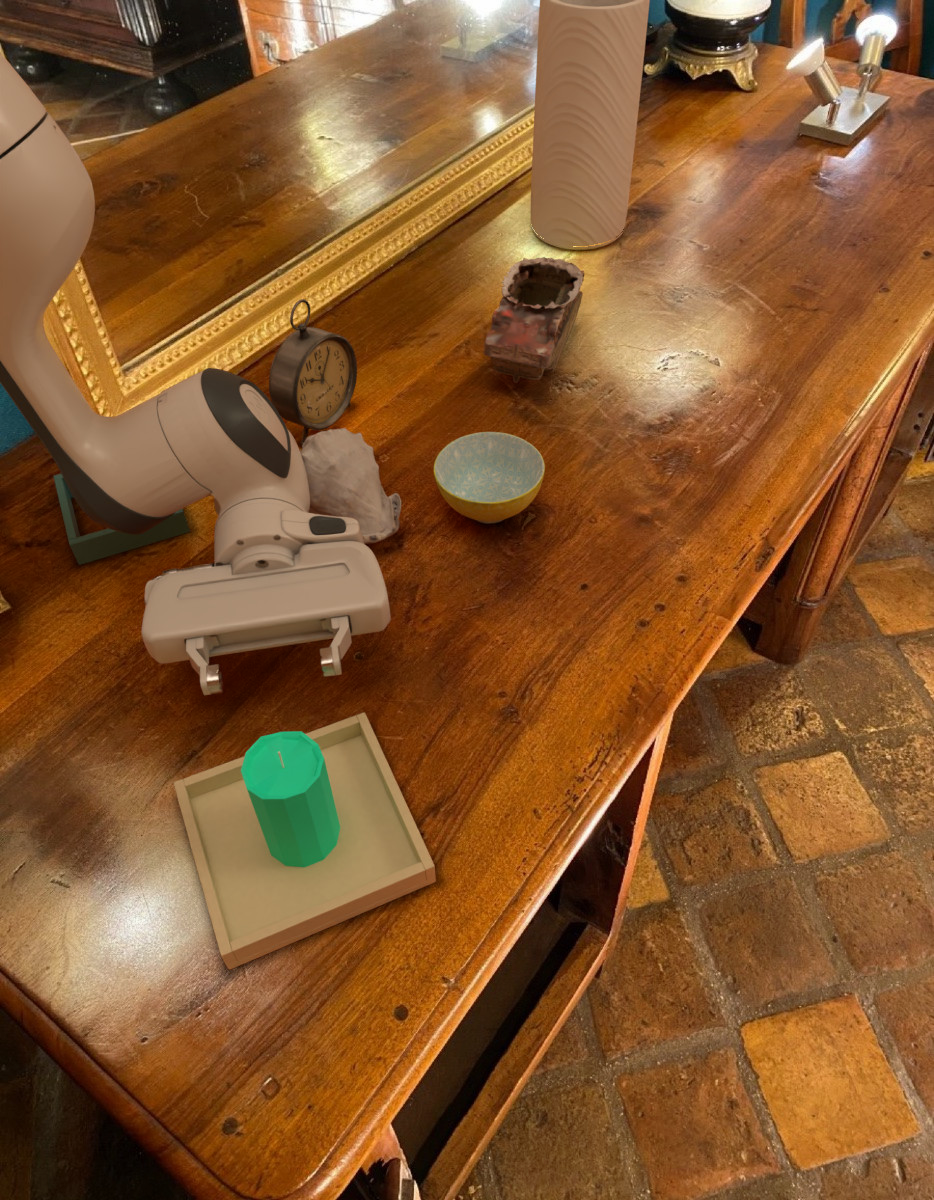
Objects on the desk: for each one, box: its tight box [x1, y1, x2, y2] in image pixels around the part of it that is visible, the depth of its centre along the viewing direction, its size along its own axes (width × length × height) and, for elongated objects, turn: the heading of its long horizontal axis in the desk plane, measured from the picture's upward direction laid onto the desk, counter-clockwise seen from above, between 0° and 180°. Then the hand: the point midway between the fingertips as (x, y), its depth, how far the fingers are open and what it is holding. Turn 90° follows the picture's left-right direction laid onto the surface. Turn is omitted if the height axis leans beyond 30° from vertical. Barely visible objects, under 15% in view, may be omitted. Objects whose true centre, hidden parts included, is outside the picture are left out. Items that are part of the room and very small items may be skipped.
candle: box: [241, 730, 340, 867], centre depth 72 cm, size 6×6×12 cm
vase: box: [530, 0, 651, 251], centre depth 131 cm, size 14×14×32 cm
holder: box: [53, 473, 191, 566], centre depth 101 cm, size 12×12×3 cm
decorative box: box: [482, 256, 585, 383], centre depth 116 cm, size 13×20×10 cm, turn 156°
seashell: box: [300, 427, 402, 545], centre depth 98 cm, size 12×14×10 cm
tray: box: [173, 711, 437, 971], centre depth 76 cm, size 17×16×3 cm
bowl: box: [433, 431, 546, 524], centre depth 100 cm, size 11×12×6 cm
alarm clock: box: [268, 298, 358, 447], centre depth 106 cm, size 11×5×16 cm, turn 147°
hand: (272, 680), depth 75 cm, fingers open, 8 cm apart
